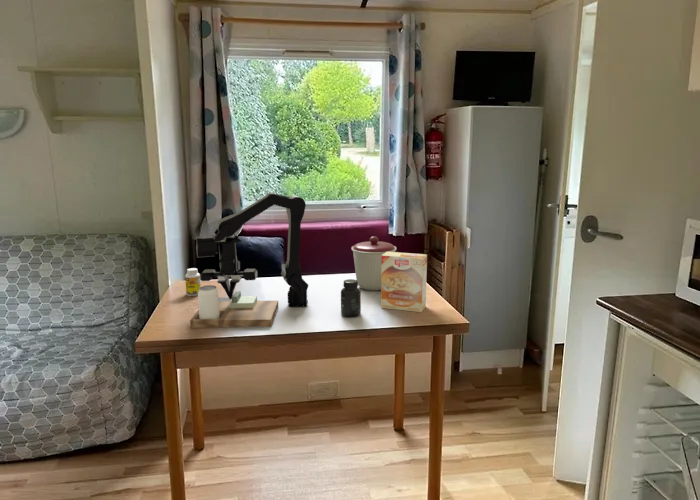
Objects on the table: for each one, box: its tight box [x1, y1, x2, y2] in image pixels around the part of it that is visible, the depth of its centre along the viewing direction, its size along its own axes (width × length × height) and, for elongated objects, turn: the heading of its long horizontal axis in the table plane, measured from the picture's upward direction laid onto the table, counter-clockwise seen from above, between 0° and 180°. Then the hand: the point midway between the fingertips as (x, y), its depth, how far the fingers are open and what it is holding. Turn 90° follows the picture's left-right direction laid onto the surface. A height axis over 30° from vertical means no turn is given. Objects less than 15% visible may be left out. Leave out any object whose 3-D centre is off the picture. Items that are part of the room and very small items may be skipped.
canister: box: [350, 236, 398, 291], centre depth 211 cm, size 18×18×21 cm
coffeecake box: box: [380, 251, 428, 313], centre depth 186 cm, size 15×7×20 cm, turn 70°
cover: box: [230, 290, 258, 308], centre depth 184 cm, size 8×8×4 cm
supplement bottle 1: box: [184, 267, 202, 297], centre depth 204 cm, size 6×6×10 cm
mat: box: [198, 297, 232, 308], centre depth 195 cm, size 10×10×1 cm
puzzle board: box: [189, 300, 279, 329], centre depth 179 cm, size 26×20×2 cm
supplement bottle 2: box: [340, 278, 362, 318], centre depth 180 cm, size 7×7×12 cm
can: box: [197, 284, 220, 319], centre depth 173 cm, size 6×6×12 cm
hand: (230, 298), depth 184 cm, fingers closed
